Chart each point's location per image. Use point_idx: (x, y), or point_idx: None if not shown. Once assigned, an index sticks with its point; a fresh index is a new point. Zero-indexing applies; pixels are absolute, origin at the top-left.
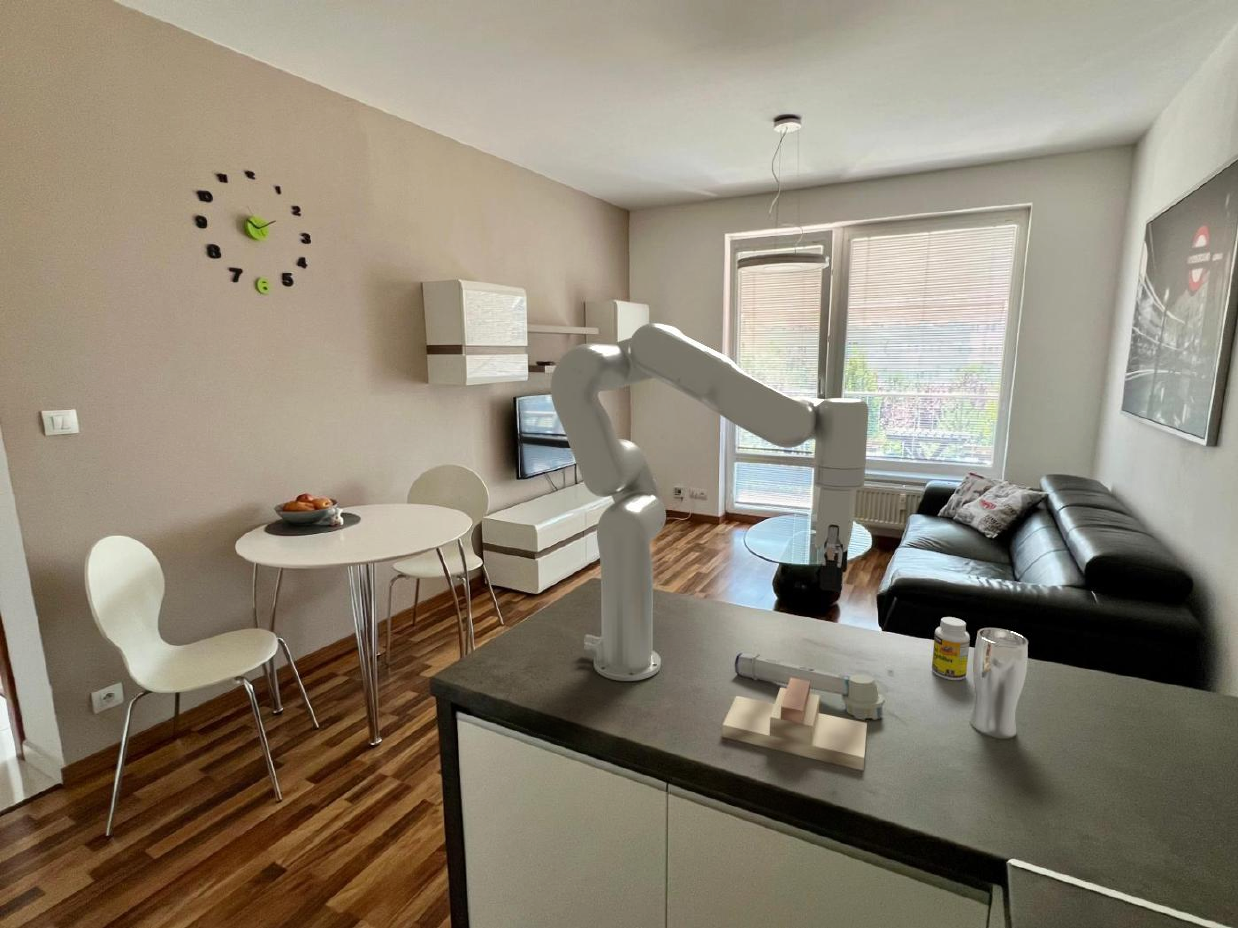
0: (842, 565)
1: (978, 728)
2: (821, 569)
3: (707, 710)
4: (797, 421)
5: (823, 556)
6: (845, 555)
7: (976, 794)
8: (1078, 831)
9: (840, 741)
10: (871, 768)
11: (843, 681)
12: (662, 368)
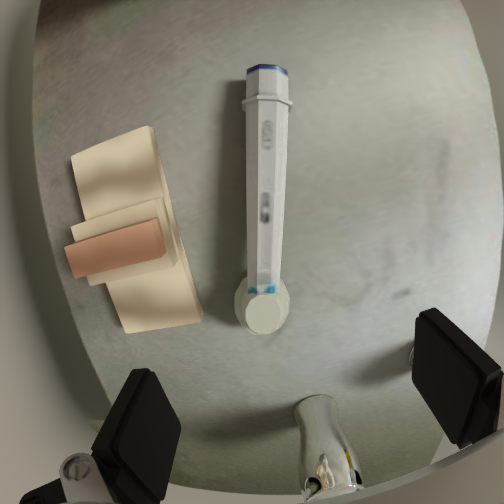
0: (424, 386)
1: (298, 405)
2: (101, 432)
3: (121, 102)
4: None
5: (67, 494)
6: (445, 426)
7: (177, 409)
8: (187, 453)
9: (134, 303)
10: (142, 331)
11: (253, 284)
12: None
